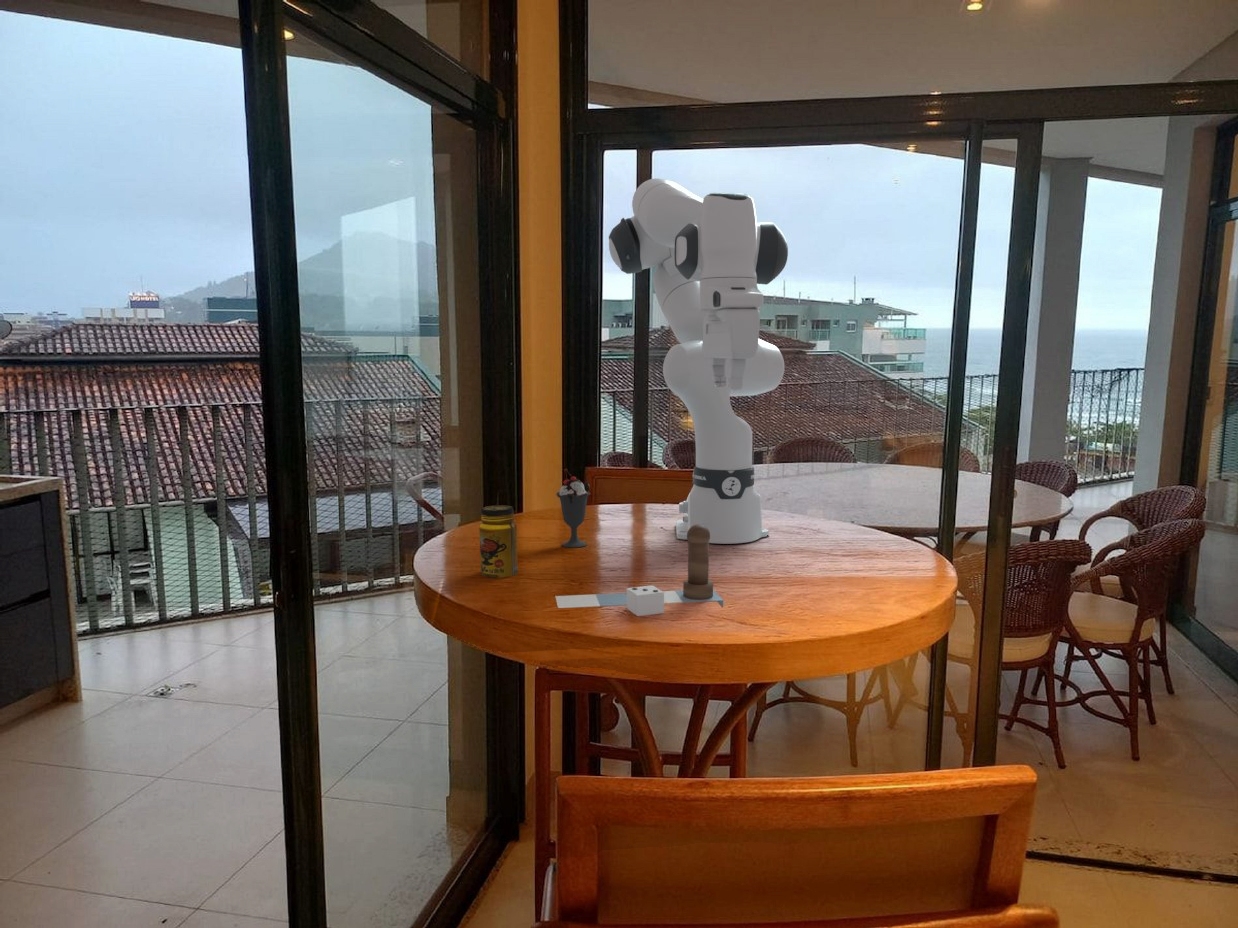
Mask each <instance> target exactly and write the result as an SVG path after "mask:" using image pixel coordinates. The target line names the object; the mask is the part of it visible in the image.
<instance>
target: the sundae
mask: <svg viewBox="0 0 1238 928" xmlns="http://www.w3.org/2000/svg"><path fill="white" fill-rule="evenodd" d="M563 471H564V472H565V480H563V484H564V485H562V486H561V487H560V488H559V491H557V492H556V496H557V497H558V498H559V500H560V505H561V506H560V507H561V513H562V514H561V515H562V517H563V521H564V523H565V524H566V525H567V526H568V527H570V538H569V539H568V541H565V542H562V543H561V546H562V547H564V548H568V549H569V548H571V549H576V548H578V549H579V548H584V547H586V546H588V543H587V542H585V541H582V540H580V539H579V536H578V528H579V527H580V526H581V525H582V524H583V522H584V521H585V518H586V512H587V511H586V510H587V505H588V503H587V502H588V497H589V496H590V495H591V494H592V493H591V492H590V491H589V490H590V486H591V485H590V483H589V482H588V481H585V483H583V482H582V481H581V480H580V479H577V477H576V476H572V474H571V473H569V471H568V469H567V468H565V469H564V468H563ZM567 473H568V474H567ZM568 475H569V476H570V478H569V479H568Z"/></svg>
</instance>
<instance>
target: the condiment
mask: <svg viewBox="0 0 1238 928" xmlns="http://www.w3.org/2000/svg"><path fill="white" fill-rule="evenodd" d="M514 511H515V509H514V507H513V506H510V505H504V504H502V505H501V504H500V505H499V504H498V505H489V506H485V507H482V508H481V512H480V513H481V518H480V519H481V520H480V521H481V523H480V525H479V528H478V530H479V532H478V533H479V548H480V549H479V554H480V555H479V557H480V574H481V575H480V576H483V577H486V578H494V579H499V578H510V577H513V576H516V575H517V574H518V572H519V571H518V564H519V563H518V536H517V535H518V533H517V530H518V529H517V524H516V522H515V516H514Z"/></svg>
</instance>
